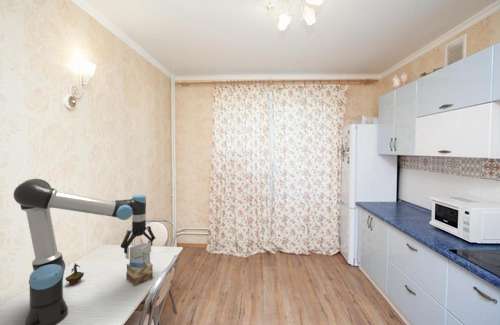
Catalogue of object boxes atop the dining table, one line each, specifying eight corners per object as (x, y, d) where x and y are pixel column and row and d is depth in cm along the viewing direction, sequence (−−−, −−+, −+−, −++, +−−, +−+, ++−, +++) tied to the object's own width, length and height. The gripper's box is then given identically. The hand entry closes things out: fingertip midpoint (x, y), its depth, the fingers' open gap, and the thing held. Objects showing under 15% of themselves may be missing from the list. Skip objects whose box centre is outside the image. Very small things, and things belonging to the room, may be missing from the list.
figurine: (75, 278, 144) (74, 259, 144) (87, 279, 144) (87, 259, 143) (61, 287, 135) (61, 267, 134) (74, 288, 134) (74, 267, 134)
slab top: (134, 278, 137) (134, 270, 137) (126, 272, 144) (126, 264, 144) (152, 272, 145) (152, 264, 145) (144, 265, 152) (144, 258, 152)
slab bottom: (134, 287, 137) (134, 278, 137) (126, 280, 144) (126, 272, 144) (152, 279, 146) (152, 271, 145) (144, 273, 153) (144, 266, 152)
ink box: (141, 268, 140) (141, 248, 139) (129, 266, 141) (129, 247, 141) (150, 261, 148) (150, 243, 147) (138, 260, 150) (138, 242, 149)
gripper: (119, 226, 131) (119, 263, 132) (161, 217, 151) (160, 250, 151) (114, 223, 136) (114, 259, 137) (155, 215, 155) (154, 247, 156)
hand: (138, 254), depth 144 cm, fingers open, 13 cm apart
